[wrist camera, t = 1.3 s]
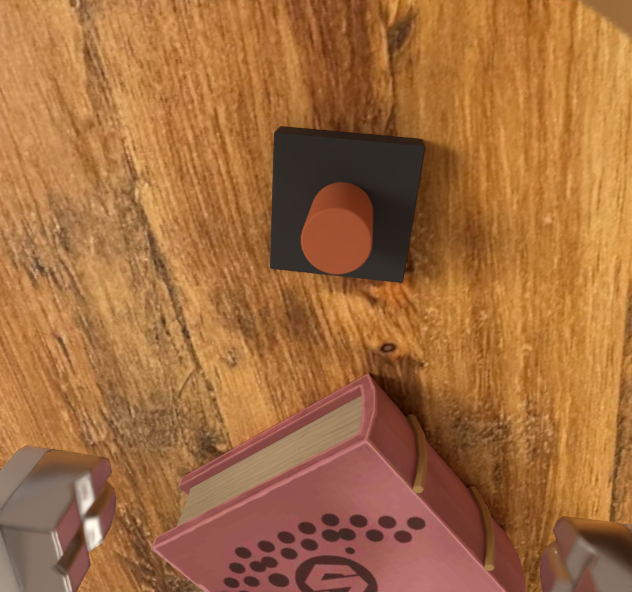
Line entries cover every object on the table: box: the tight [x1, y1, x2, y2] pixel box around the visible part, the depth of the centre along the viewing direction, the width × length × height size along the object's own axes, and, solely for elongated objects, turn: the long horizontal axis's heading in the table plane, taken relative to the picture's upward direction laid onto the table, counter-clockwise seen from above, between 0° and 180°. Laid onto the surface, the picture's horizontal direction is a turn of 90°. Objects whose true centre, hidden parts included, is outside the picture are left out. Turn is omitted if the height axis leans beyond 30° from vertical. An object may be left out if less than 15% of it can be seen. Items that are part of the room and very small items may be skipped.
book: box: [151, 373, 526, 592], centre depth 29 cm, size 14×15×5 cm
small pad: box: [270, 126, 425, 283], centre depth 21 cm, size 6×6×5 cm
